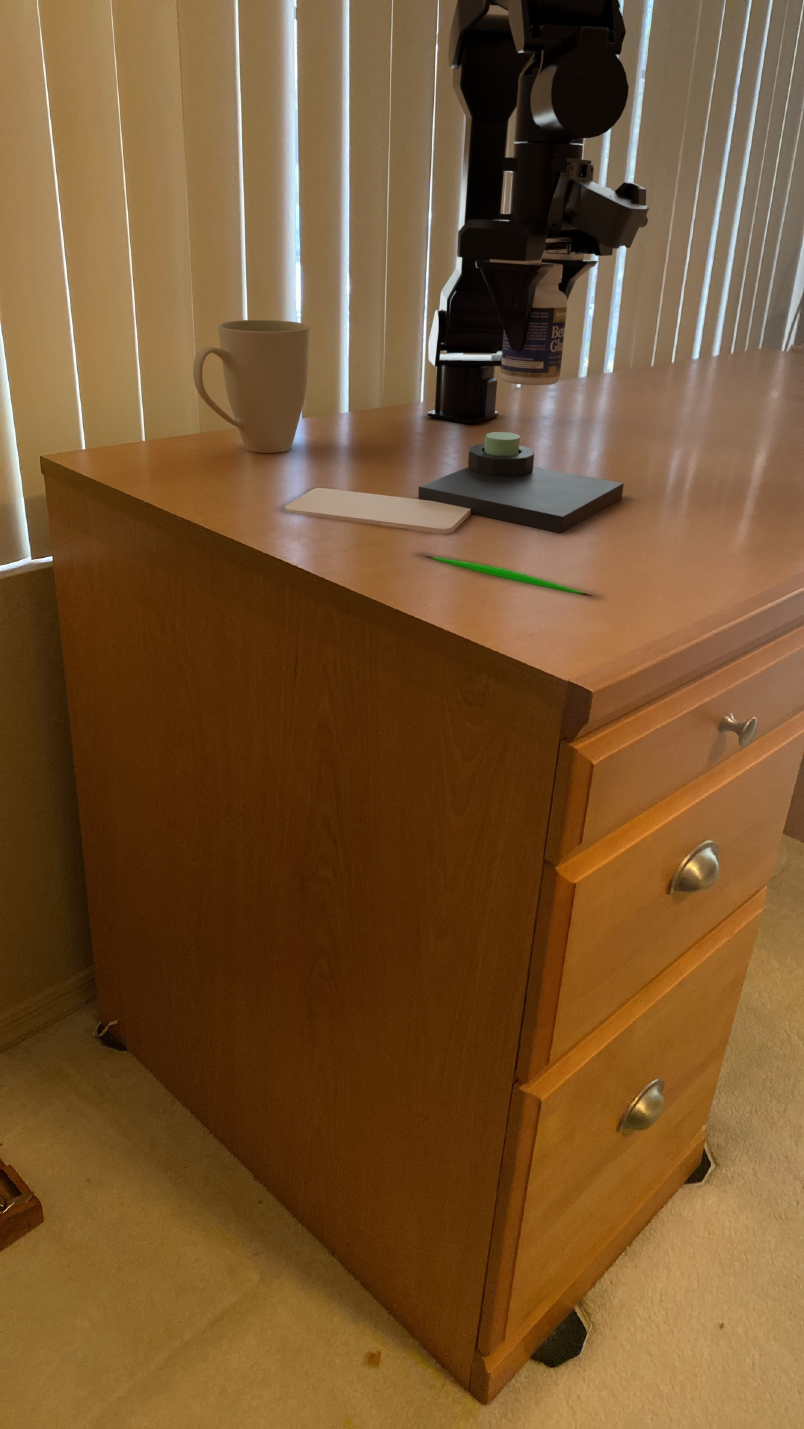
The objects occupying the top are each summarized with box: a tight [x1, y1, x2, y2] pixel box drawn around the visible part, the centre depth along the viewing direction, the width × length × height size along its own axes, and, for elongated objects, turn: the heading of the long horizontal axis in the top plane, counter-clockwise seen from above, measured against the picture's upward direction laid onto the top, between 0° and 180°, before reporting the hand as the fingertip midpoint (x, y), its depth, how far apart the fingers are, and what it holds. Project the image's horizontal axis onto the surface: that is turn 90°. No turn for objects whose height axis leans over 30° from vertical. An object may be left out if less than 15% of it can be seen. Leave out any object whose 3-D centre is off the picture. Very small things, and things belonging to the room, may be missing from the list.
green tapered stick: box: [424, 555, 593, 597], centre depth 71 cm, size 1×14×1 cm, turn 58°
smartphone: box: [284, 487, 472, 535], centre depth 84 cm, size 7×1×15 cm
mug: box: [192, 319, 310, 454], centre depth 99 cm, size 11×10×12 cm
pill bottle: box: [500, 263, 568, 386], centre depth 86 cm, size 5×5×10 cm
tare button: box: [484, 431, 521, 456], centre depth 92 cm, size 3×3×2 cm
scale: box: [417, 443, 625, 534], centre depth 88 cm, size 14×14×3 cm
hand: (531, 346), depth 87 cm, fingers closed on pill bottle, 5 cm apart
